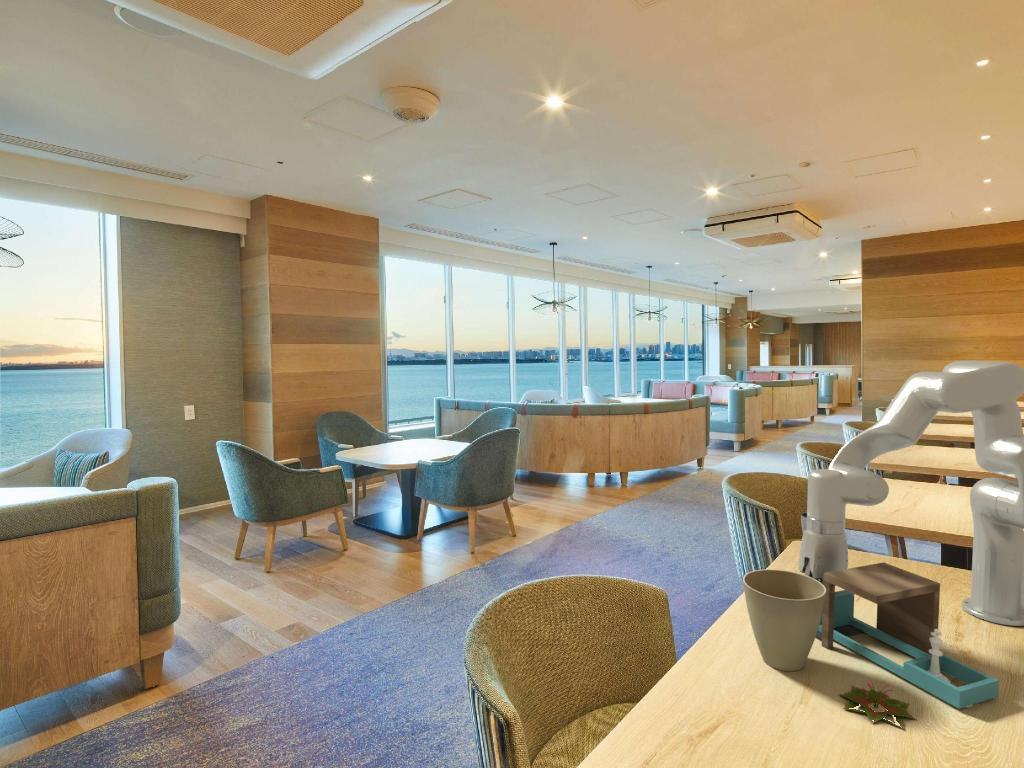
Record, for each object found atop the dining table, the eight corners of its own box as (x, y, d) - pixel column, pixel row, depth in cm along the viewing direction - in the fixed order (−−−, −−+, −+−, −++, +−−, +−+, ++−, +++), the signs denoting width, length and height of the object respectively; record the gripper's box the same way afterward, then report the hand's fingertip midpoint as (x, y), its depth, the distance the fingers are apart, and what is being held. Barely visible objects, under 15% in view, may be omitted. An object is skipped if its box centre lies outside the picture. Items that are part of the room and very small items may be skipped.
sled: (845, 619, 133) (846, 589, 132) (998, 696, 104) (1000, 658, 103) (811, 627, 130) (812, 596, 129) (959, 708, 100) (960, 669, 100)
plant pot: (759, 635, 127) (761, 563, 126) (834, 661, 117) (837, 583, 116) (728, 661, 117) (729, 583, 116) (807, 692, 106) (810, 607, 105)
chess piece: (957, 689, 107) (959, 635, 106) (930, 689, 107) (932, 636, 106) (937, 674, 112) (939, 623, 111) (912, 674, 112) (914, 623, 111)
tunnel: (838, 610, 139) (840, 546, 138) (936, 659, 117) (940, 583, 116) (781, 622, 133) (782, 555, 132) (873, 675, 112) (876, 596, 111)
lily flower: (843, 682, 110) (844, 658, 110) (921, 706, 103) (922, 681, 103) (830, 713, 101) (831, 687, 101) (915, 742, 94) (916, 715, 93)
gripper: (836, 517, 137) (834, 594, 139) (786, 524, 132) (784, 603, 134) (865, 526, 130) (862, 607, 132) (813, 534, 125) (811, 618, 127)
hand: (823, 605), depth 133 cm, fingers closed
